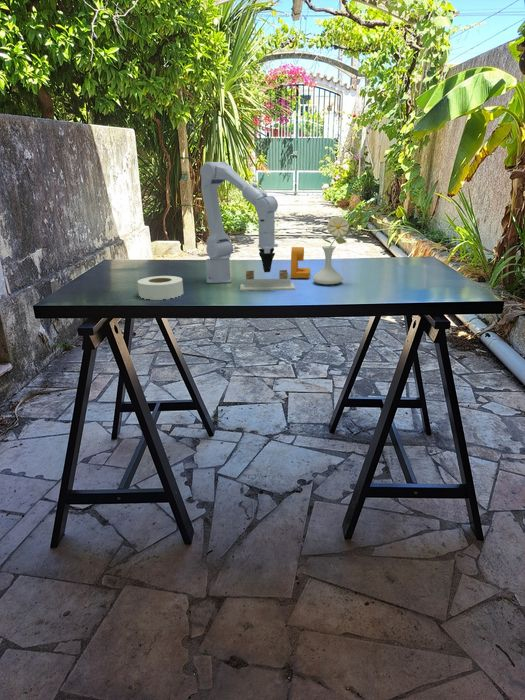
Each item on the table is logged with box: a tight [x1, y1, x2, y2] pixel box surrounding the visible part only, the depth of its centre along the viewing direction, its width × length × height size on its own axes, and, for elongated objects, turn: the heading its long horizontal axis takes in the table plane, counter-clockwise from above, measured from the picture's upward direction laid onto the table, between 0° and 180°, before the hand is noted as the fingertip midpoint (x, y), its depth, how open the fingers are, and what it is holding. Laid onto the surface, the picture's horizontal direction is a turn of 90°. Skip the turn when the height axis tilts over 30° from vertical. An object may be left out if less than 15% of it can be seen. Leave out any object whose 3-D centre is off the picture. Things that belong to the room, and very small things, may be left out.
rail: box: [243, 278, 291, 287], centre depth 177 cm, size 17×2×2 cm, turn 91°
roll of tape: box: [137, 275, 184, 301], centre depth 170 cm, size 16×16×6 cm
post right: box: [278, 269, 289, 279], centre depth 186 cm, size 3×5×4 cm, turn 1°
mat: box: [239, 282, 296, 292], centre depth 178 cm, size 20×8×1 cm, turn 91°
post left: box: [245, 270, 255, 279], centre depth 186 cm, size 3×5×4 cm, turn 1°
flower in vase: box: [312, 215, 350, 285], centre depth 178 cm, size 13×11×25 cm
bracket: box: [290, 246, 311, 279], centre depth 193 cm, size 11×7×12 cm, turn 172°
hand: (266, 269), depth 176 cm, fingers open, 7 cm apart
